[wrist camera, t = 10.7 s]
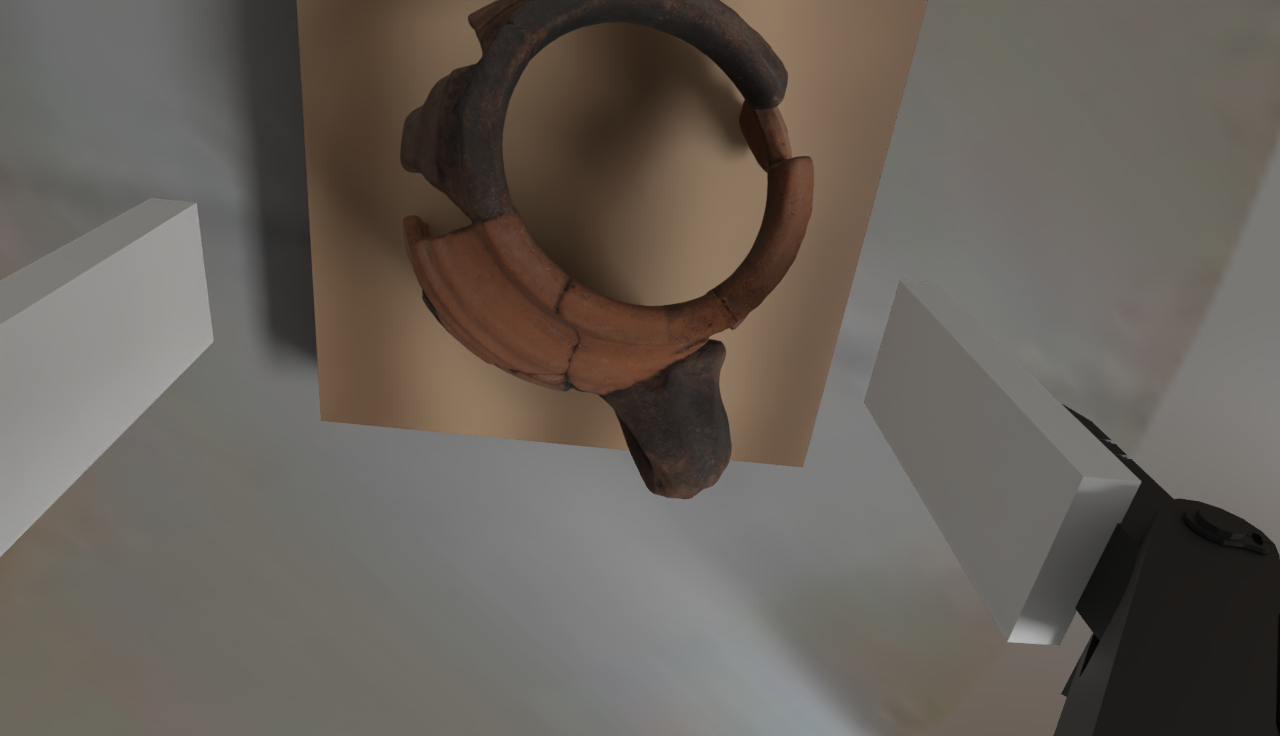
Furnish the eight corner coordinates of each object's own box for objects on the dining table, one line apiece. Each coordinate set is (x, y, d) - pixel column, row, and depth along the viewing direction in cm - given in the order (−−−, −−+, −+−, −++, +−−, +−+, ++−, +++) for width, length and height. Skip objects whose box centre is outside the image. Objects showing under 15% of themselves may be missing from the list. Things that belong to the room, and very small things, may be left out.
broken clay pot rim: (323, 142, 21) (301, 22, 13) (627, 17, 24) (758, -145, 16) (534, 530, 23) (622, 625, 15) (791, 376, 26) (978, 389, 18)
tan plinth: (350, 374, 27) (320, 420, 24) (330, -149, 20) (287, -165, 18) (785, 418, 28) (802, 467, 25) (903, -61, 21) (944, -63, 19)
